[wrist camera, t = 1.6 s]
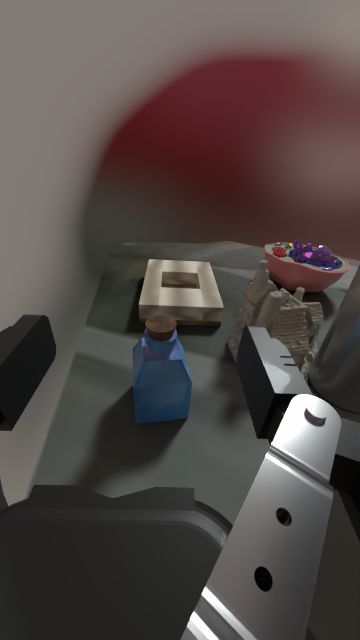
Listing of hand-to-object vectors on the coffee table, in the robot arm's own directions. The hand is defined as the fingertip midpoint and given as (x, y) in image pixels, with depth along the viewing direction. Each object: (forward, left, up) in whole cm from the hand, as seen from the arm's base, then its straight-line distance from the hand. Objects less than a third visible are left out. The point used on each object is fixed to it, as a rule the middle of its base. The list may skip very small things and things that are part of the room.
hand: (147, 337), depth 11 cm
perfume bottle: (0, -13, -20) cm, 24 cm away
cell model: (-32, -49, -20) cm, 62 cm away
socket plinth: (-3, -41, -20) cm, 46 cm away
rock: (-19, -23, -20) cm, 36 cm away
